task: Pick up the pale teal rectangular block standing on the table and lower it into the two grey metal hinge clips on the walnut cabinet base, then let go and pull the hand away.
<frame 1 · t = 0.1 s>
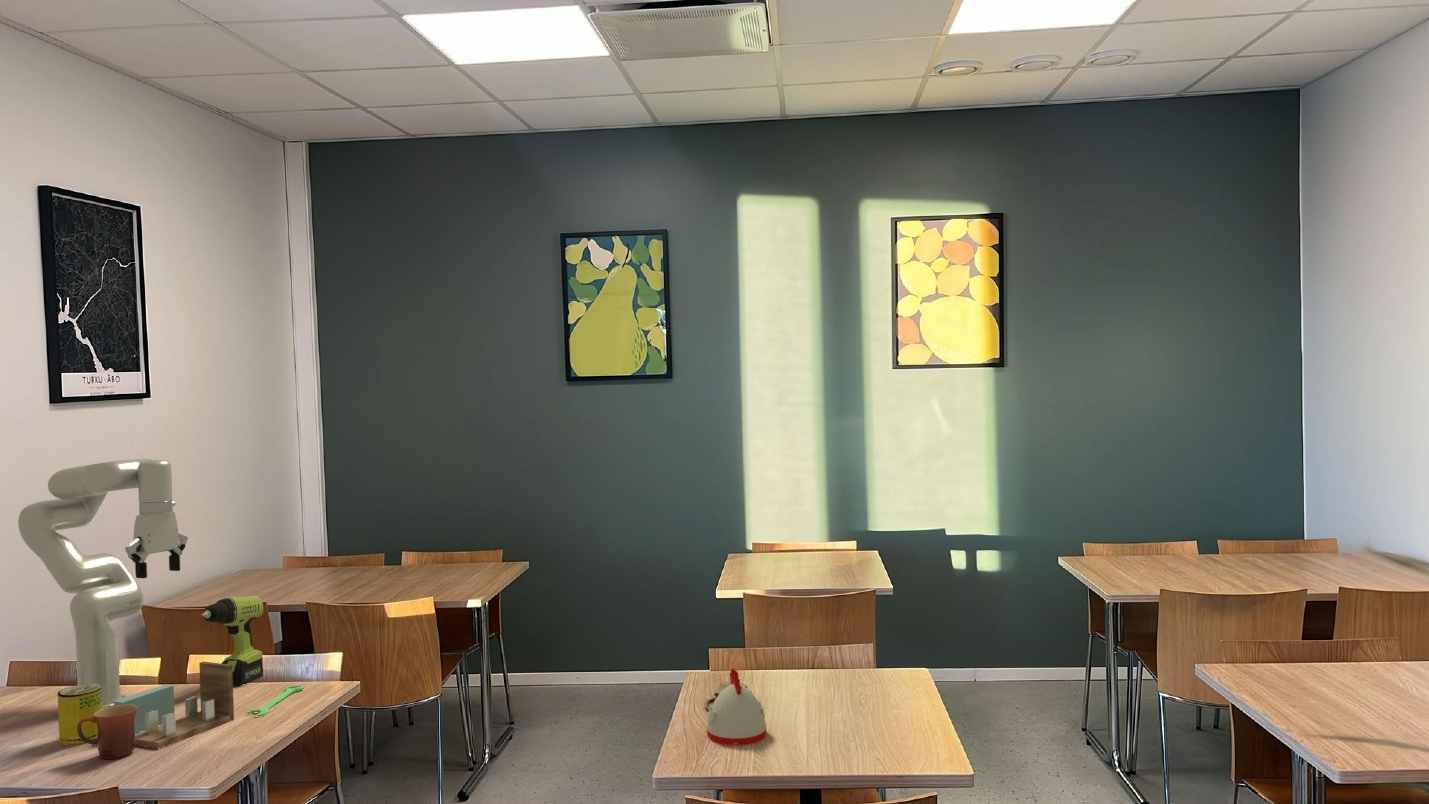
hand: (158, 574, 253), 37 cm above the table, tool pointing down, fingers open, 9 cm apart
kitchen timer: (736, 735, 231), on the table
wrench: (276, 704, 263), on the table
yellow food can: (81, 739, 238), on the table
cordless drill: (232, 685, 279), on the table
mug: (109, 756, 226), on the table
pale teal rectangular block: (145, 729, 244), on the table
cabinet base: (181, 732, 241), on the table
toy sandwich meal: (728, 708, 251), on the table
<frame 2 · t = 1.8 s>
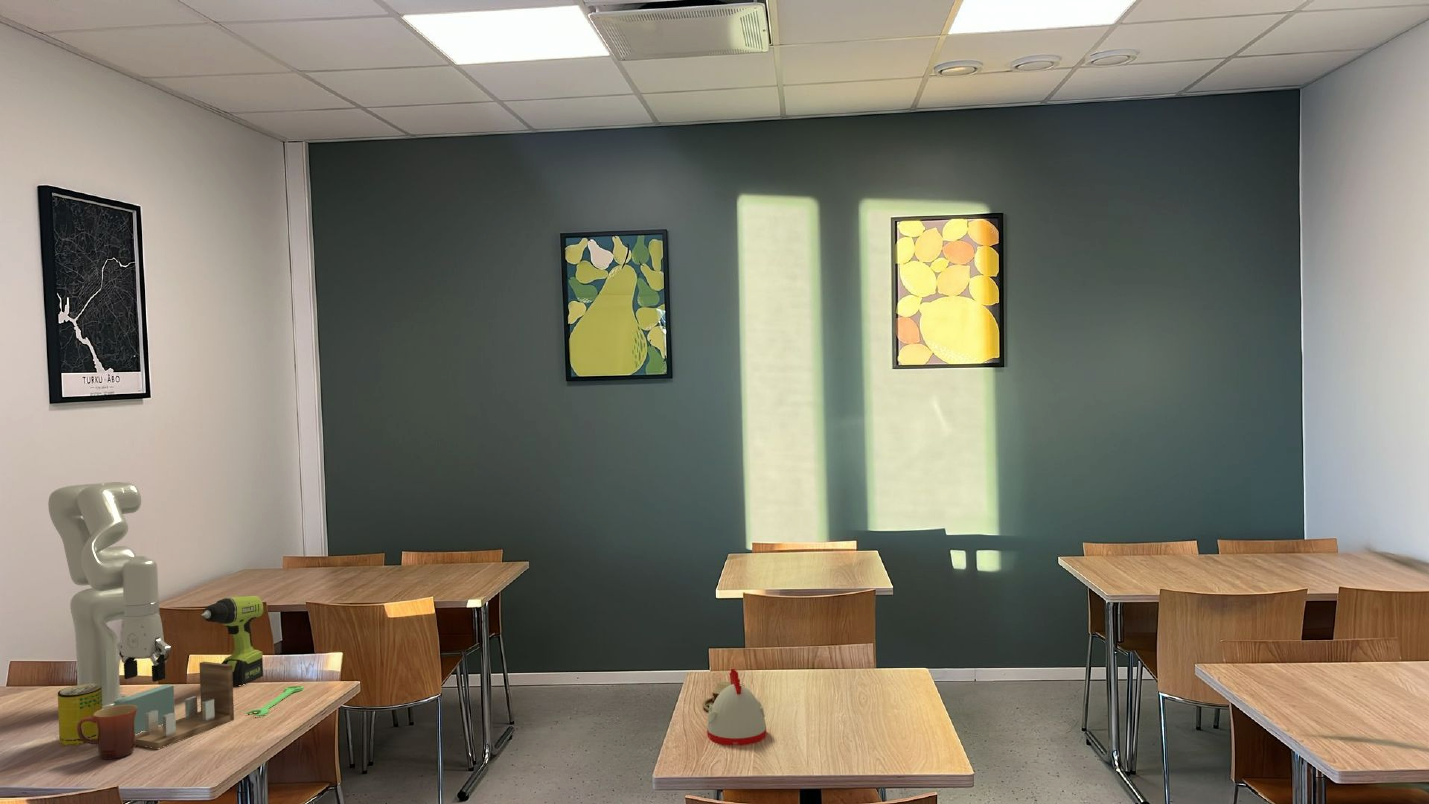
hand: (144, 678, 243), 13 cm above the table, tool pointing down, fingers open, 9 cm apart
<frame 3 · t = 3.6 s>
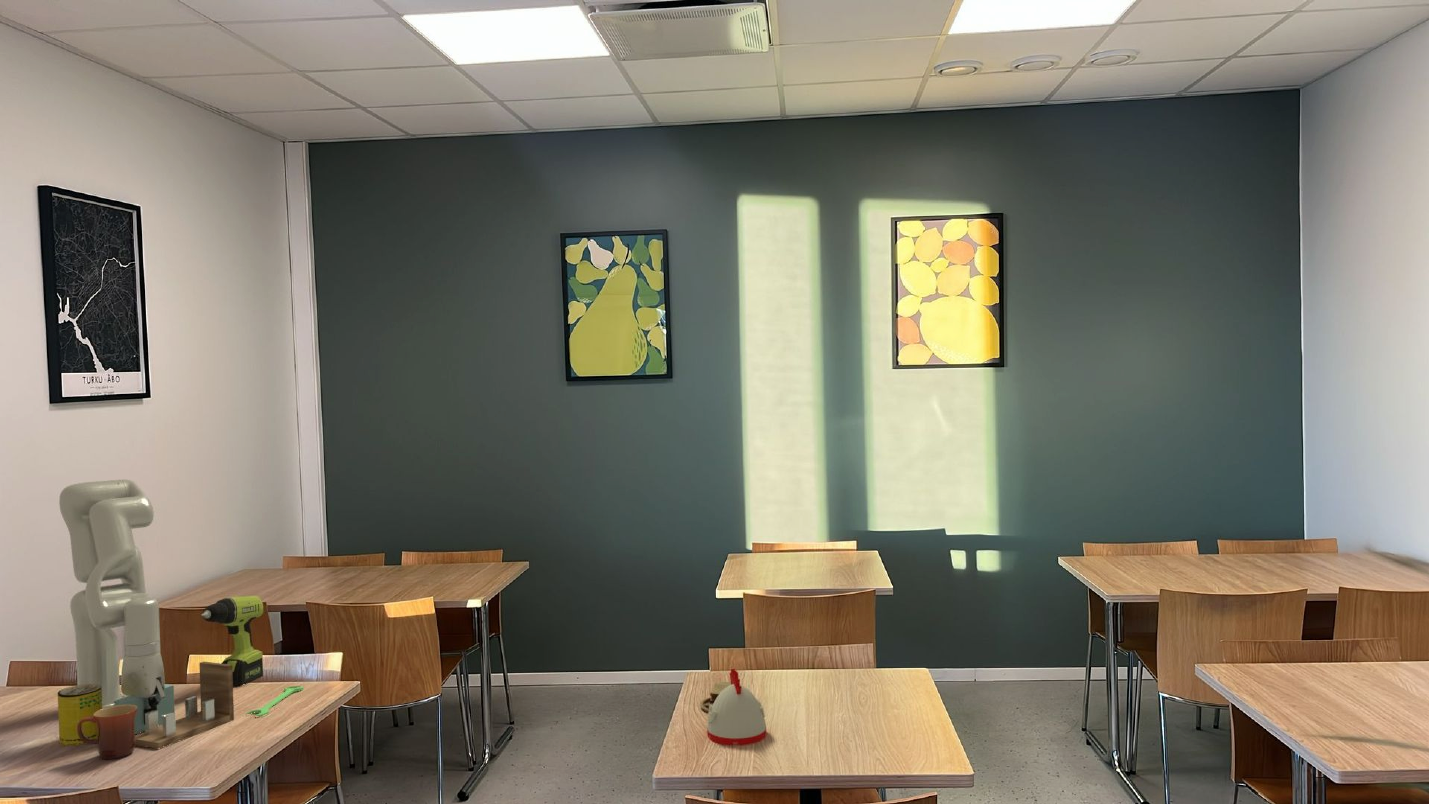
hand: (145, 721, 244), 2 cm above the table, tool pointing down, fingers closed on pale teal rectangular block, 3 cm apart
pale teal rectangular block: (145, 728, 244), on the table, touching gripper
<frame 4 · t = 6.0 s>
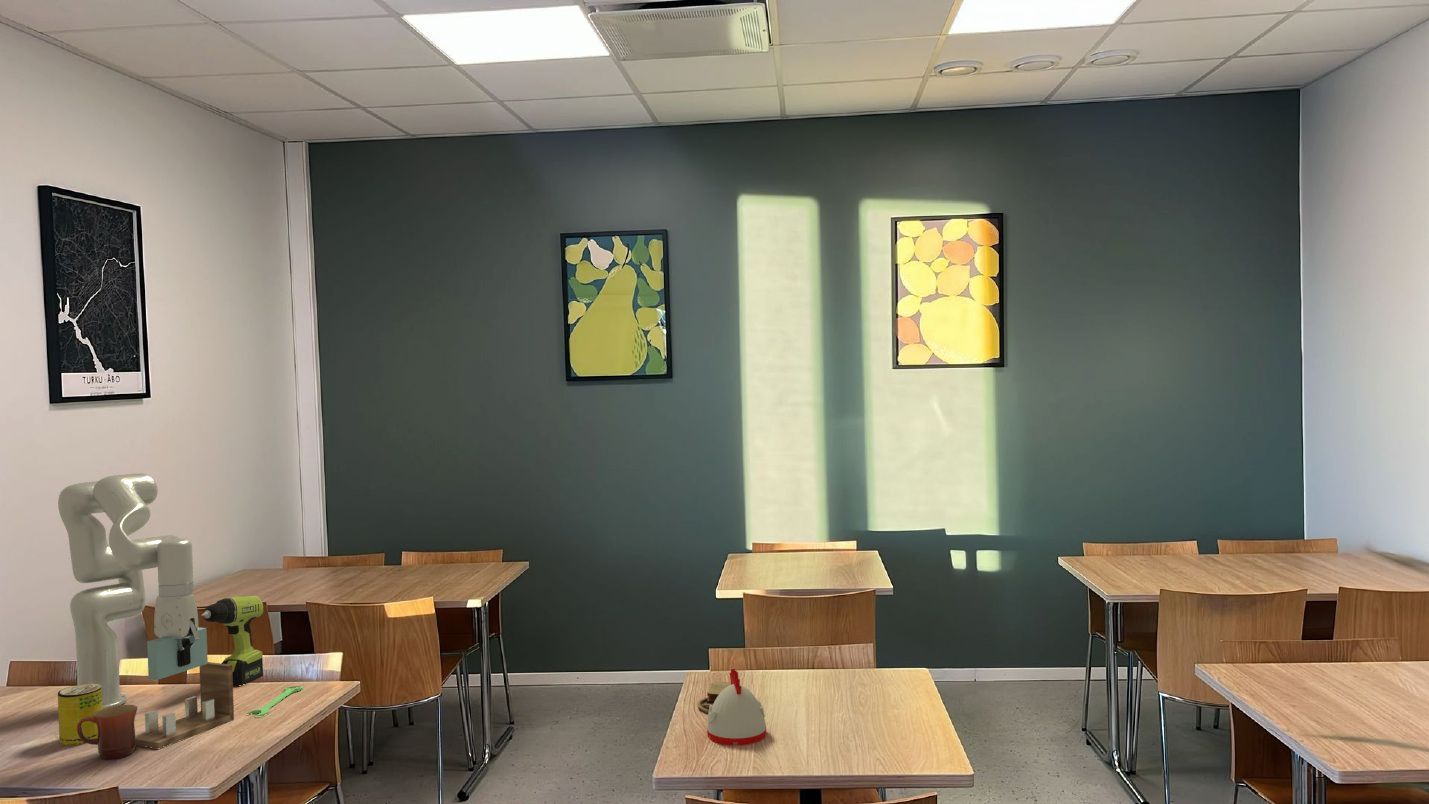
hand: (178, 664, 240), 17 cm above the table, tool pointing down, fingers closed on pale teal rectangular block, 3 cm apart
pale teal rectangular block: (178, 671, 240), point 15 cm above the table, touching gripper
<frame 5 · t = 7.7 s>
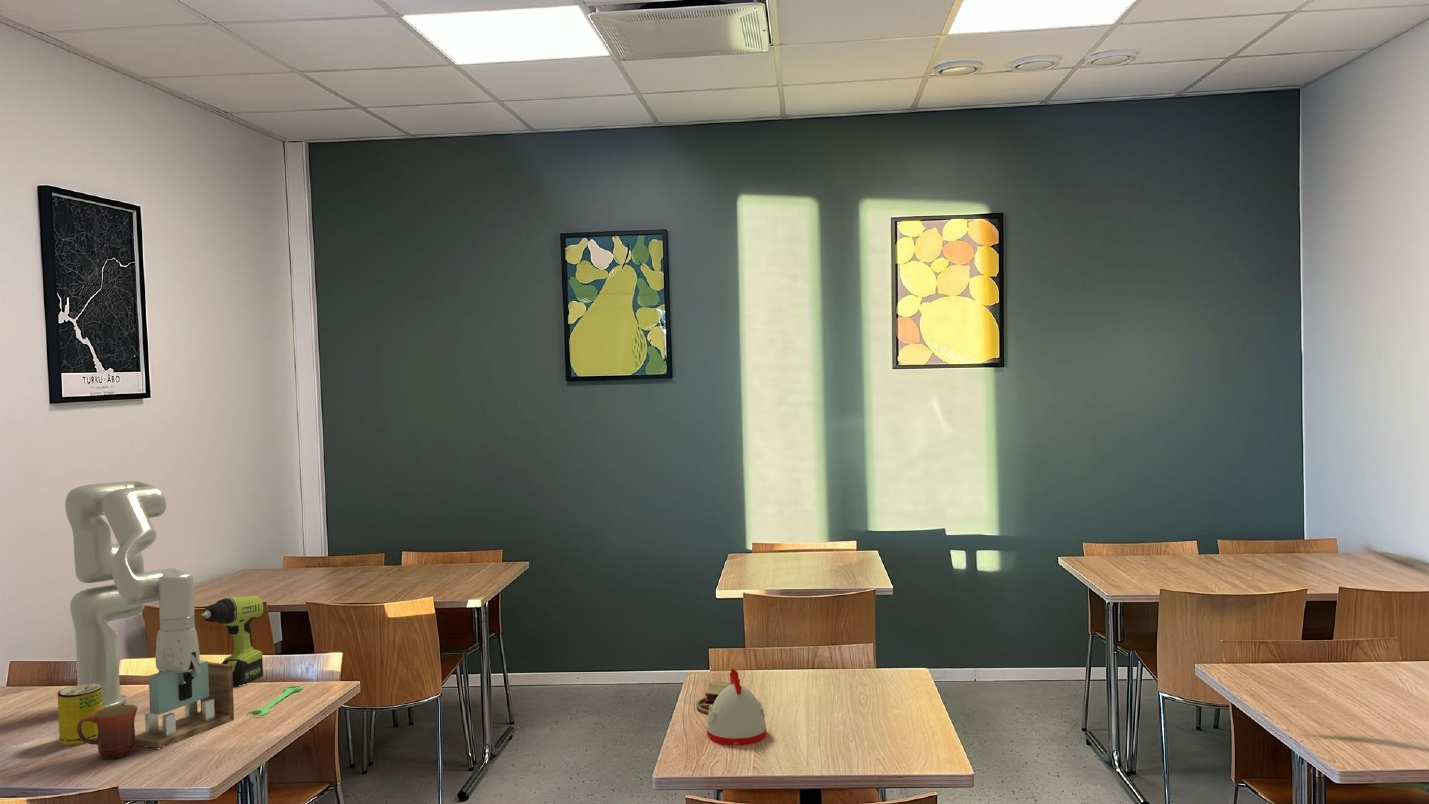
hand: (180, 697, 240), 9 cm above the table, tool pointing down, fingers closed on pale teal rectangular block, 3 cm apart
pale teal rectangular block: (180, 704, 240), point 7 cm above the table, touching gripper
when the fingers open (5 cm above the table, at t = 8.8 s): pale teal rectangular block drops 2 cm, resting on cabinet base.
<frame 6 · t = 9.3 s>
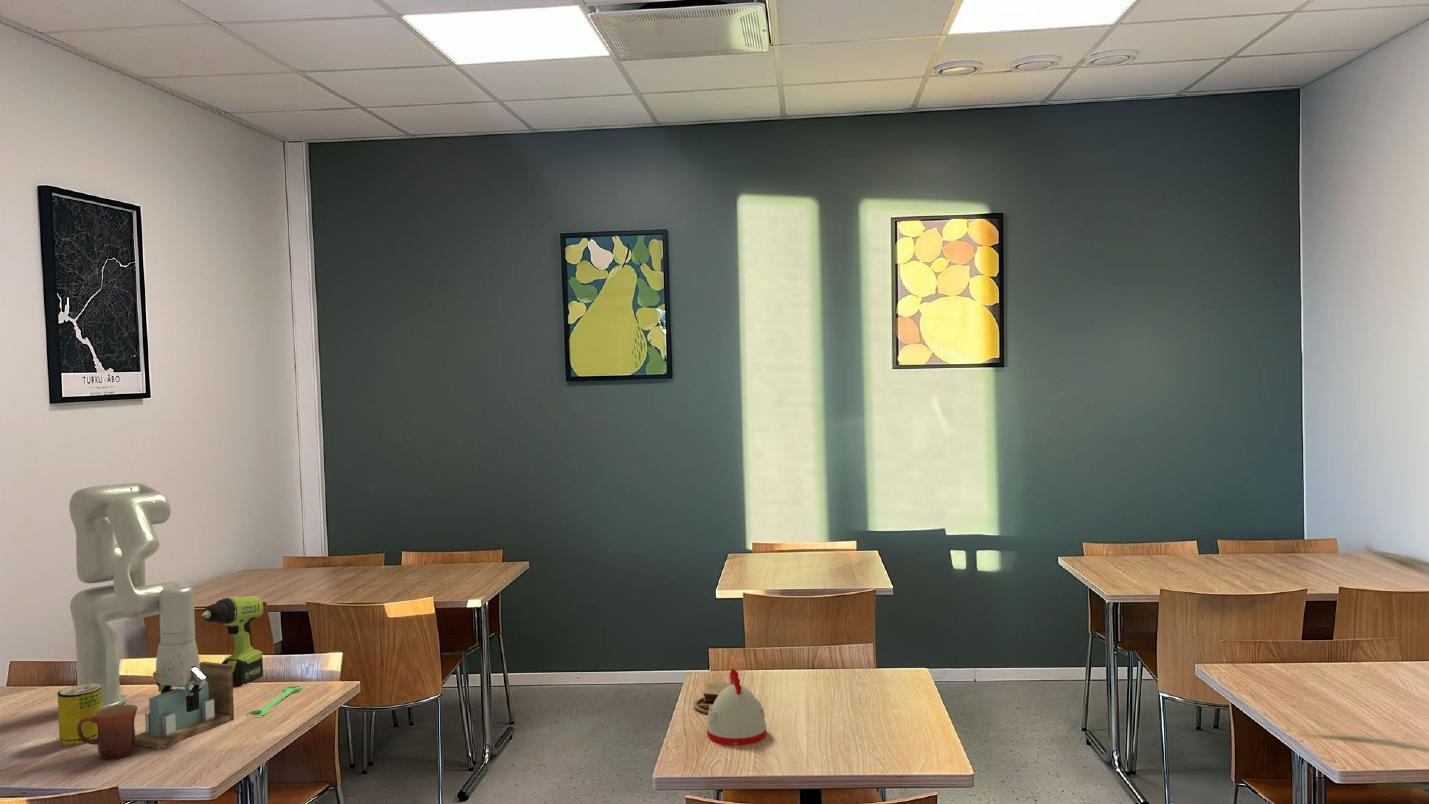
hand: (180, 708, 240), 6 cm above the table, tool pointing down, fingers open, 8 cm apart
pale teal rectangular block: (180, 726, 241), point 1 cm above the table, touching cabinet base
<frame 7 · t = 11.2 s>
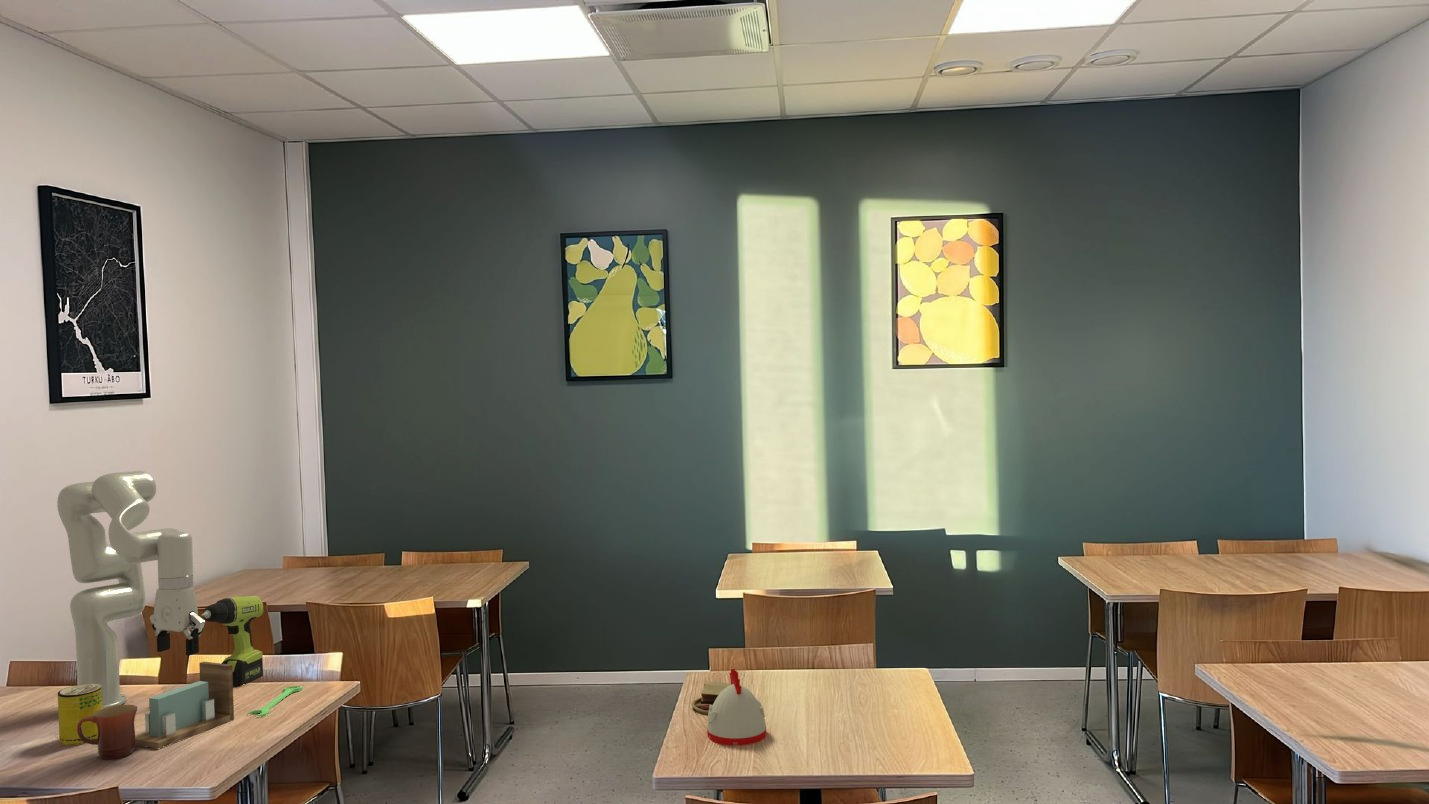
hand: (178, 652, 240), 20 cm above the table, tool pointing down, fingers open, 9 cm apart
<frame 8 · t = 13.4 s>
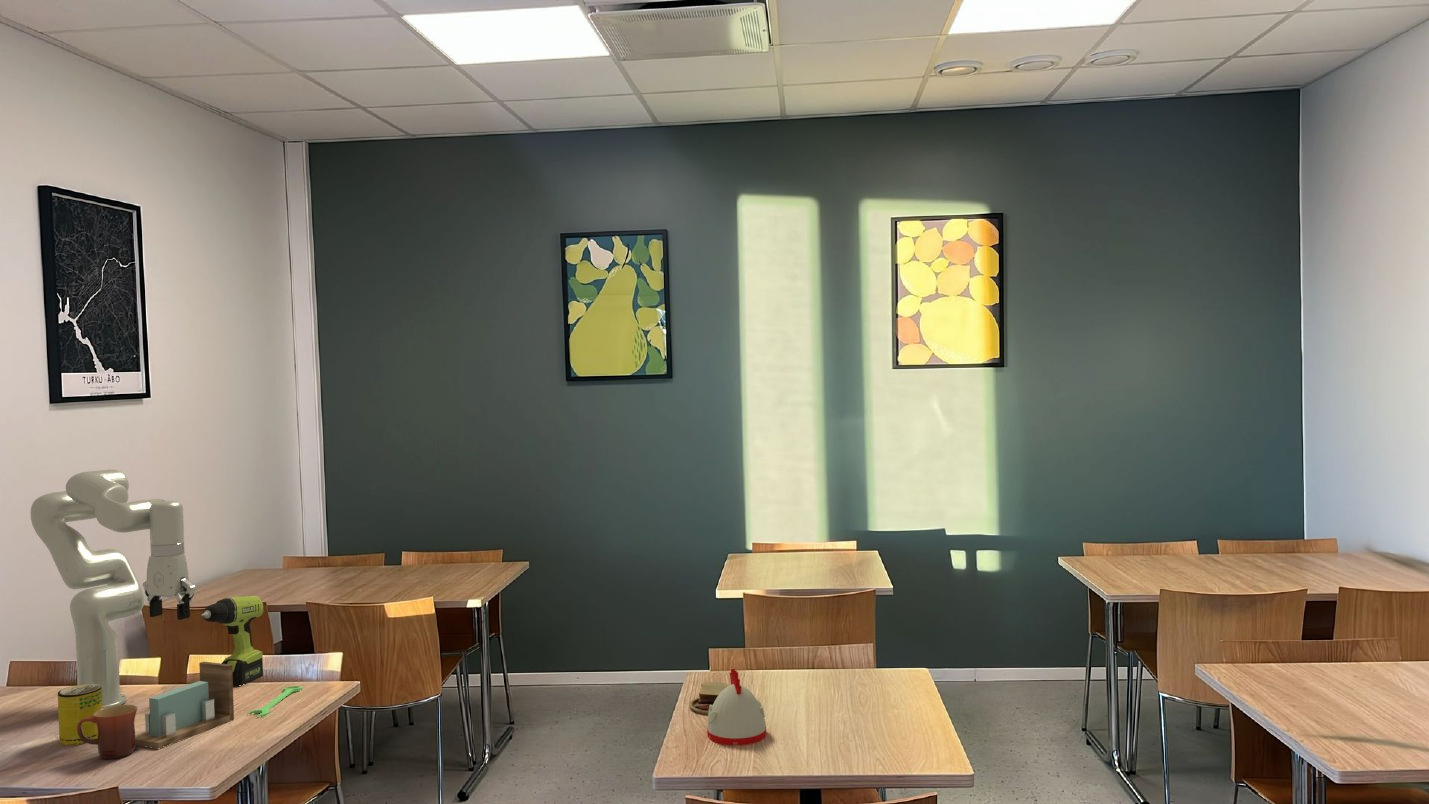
hand: (169, 617, 249), 26 cm above the table, tool pointing down, fingers open, 9 cm apart
at the end: pale teal rectangular block 0.1 cm off-centre on the cabinet base, point 1.5 cm above the cabinet base's base; pale teal rectangular block tilted 0°; the gripper is holding nothing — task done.
